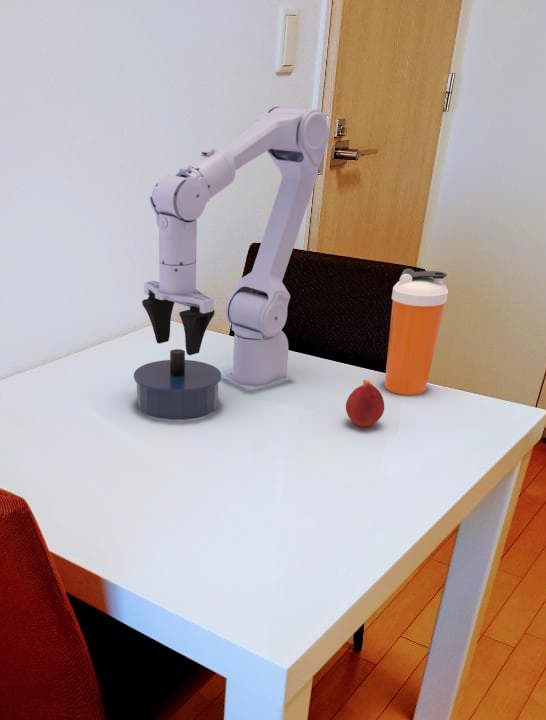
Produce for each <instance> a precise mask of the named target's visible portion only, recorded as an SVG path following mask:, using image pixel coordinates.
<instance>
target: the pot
mask: <svg viewBox="0 0 546 720" xmlns="http://www.w3.org/2000/svg"><path fill="white" fill-rule="evenodd" d="M218 401H219V383H218V384H216V385H215V386H213V387H210V388H208V389H204V390H200V391H195V392H185V393H169V392H160V391H155V390H151V389H147V388H145V387H142V386H140V385H139V384H138V383H136V404H137V405H136V406H137V408H138V409H139V411H141V412H142V413H143V414H145V415H148V416H150V417H154V418H158V419H163V420H169V421H170V420H172V421H173V420H175V421H177V420H179V421H180V420H181V421H183V420H192V419H197V418H201V417H205V416H208V415H210V414H212V413H214V412H215V410H217V408H218V403H219V402H218Z"/></svg>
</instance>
